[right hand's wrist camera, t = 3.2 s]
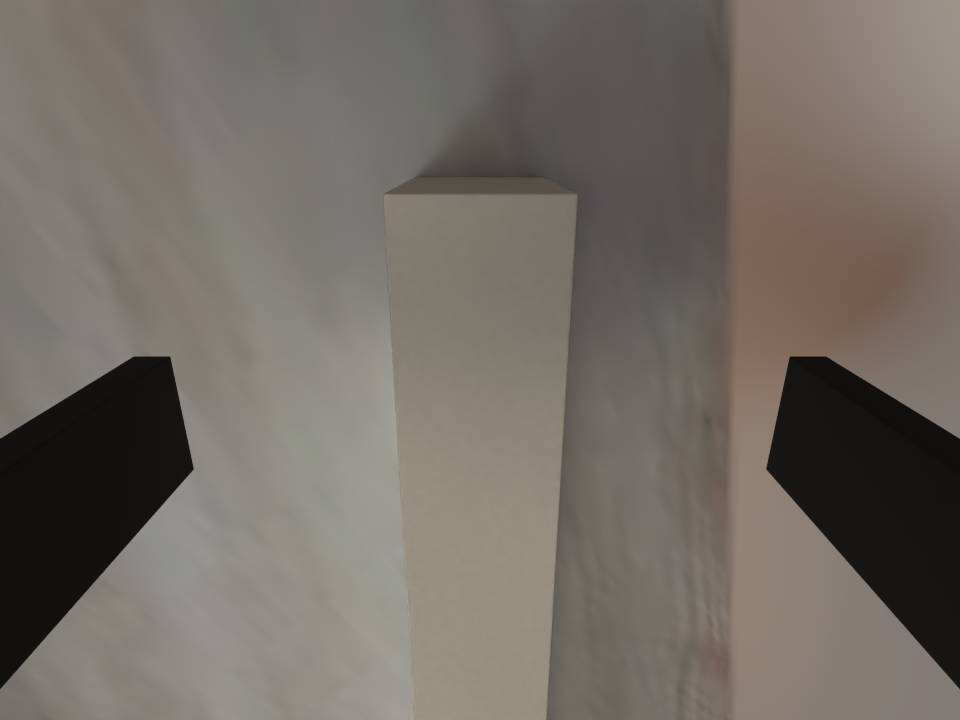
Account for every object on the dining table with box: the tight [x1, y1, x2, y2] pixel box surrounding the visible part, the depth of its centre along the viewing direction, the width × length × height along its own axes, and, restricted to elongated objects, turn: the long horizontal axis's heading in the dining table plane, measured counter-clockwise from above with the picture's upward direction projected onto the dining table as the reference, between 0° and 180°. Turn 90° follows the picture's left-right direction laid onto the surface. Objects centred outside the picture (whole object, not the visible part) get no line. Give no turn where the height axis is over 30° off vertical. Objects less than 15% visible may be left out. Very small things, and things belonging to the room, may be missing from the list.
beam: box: [383, 177, 578, 720], centre depth 30 cm, size 54×6×9 cm, turn 0°
